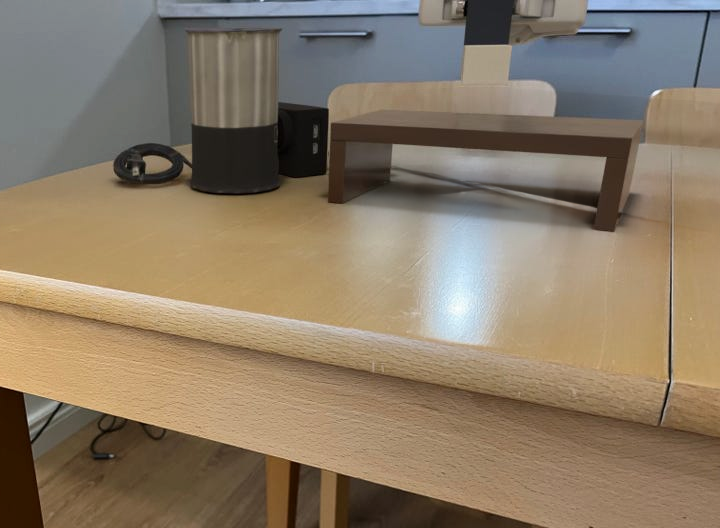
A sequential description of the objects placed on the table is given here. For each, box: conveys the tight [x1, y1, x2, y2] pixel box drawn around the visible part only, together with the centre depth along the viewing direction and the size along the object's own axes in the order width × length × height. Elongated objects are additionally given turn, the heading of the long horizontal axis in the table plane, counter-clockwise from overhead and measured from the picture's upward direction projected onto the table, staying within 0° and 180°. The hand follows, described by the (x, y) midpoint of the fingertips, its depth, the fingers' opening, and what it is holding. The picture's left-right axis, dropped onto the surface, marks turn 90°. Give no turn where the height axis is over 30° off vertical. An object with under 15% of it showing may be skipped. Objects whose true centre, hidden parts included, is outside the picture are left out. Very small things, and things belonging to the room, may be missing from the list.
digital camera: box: [277, 101, 330, 178], centre depth 84 cm, size 10×5×7 cm, turn 31°
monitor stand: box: [327, 109, 644, 232], centre depth 67 cm, size 13×24×7 cm, turn 61°
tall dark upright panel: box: [460, 0, 514, 85], centre depth 87 cm, size 11×5×15 cm, turn 166°
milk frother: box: [112, 26, 283, 195], centre depth 74 cm, size 14×16×15 cm
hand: (488, 7), depth 88 cm, fingers closed on tall dark upright panel, 5 cm apart
